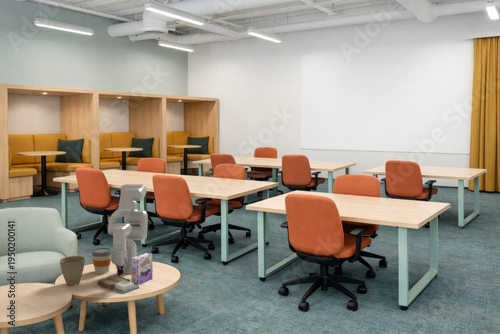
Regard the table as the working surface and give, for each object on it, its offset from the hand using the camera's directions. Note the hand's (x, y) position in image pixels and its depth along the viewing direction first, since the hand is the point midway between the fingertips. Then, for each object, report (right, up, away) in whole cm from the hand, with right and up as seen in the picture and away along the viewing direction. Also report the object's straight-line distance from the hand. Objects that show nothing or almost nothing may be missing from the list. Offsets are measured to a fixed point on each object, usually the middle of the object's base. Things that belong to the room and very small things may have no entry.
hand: (120, 274), depth 284 cm
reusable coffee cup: (-20, -5, +28) cm, 35 cm away
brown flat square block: (-5, -7, +3) cm, 9 cm away
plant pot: (-31, -7, +4) cm, 32 cm away
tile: (+4, -7, -4) cm, 9 cm away
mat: (+5, -8, -4) cm, 10 cm away
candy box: (+11, -7, +12) cm, 17 cm away
